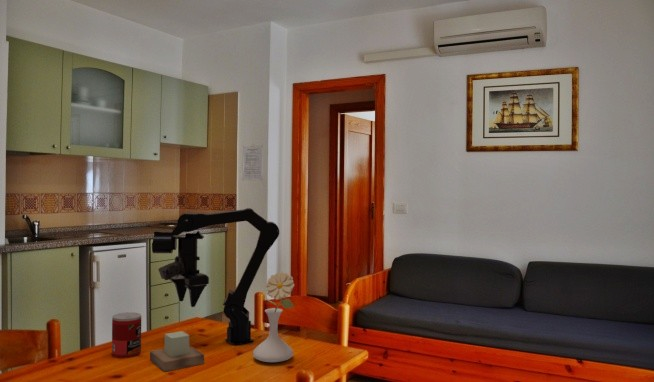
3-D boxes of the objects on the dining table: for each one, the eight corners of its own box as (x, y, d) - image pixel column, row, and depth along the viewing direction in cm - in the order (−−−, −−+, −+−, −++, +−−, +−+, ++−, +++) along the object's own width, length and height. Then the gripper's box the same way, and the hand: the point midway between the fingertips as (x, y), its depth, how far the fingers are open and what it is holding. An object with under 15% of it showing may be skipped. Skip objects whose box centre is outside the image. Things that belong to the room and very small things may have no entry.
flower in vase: (244, 360, 143) (245, 270, 143) (272, 350, 152) (273, 266, 152) (278, 370, 136) (280, 276, 135) (306, 359, 145) (307, 271, 144)
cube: (181, 348, 144) (182, 331, 144) (189, 353, 141) (189, 335, 141) (164, 352, 141) (164, 334, 141) (171, 357, 137) (171, 338, 137)
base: (187, 352, 149) (188, 344, 149) (203, 363, 140) (204, 354, 140) (149, 360, 142) (149, 351, 142) (164, 371, 133) (164, 362, 133)
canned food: (131, 359, 143) (131, 319, 143) (105, 356, 144) (106, 317, 144) (146, 350, 150) (146, 313, 150) (121, 348, 152) (122, 311, 152)
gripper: (151, 251, 161) (150, 301, 161) (173, 258, 146) (172, 313, 146) (185, 249, 167) (184, 297, 168) (210, 256, 153) (209, 308, 153)
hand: (186, 303), depth 158 cm, fingers open, 9 cm apart
